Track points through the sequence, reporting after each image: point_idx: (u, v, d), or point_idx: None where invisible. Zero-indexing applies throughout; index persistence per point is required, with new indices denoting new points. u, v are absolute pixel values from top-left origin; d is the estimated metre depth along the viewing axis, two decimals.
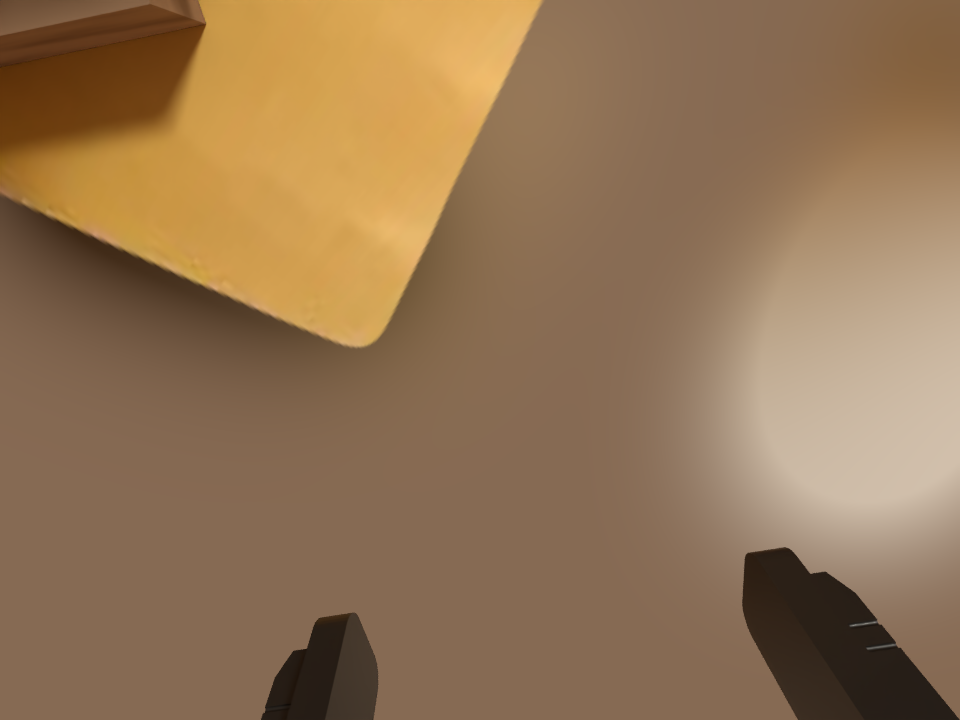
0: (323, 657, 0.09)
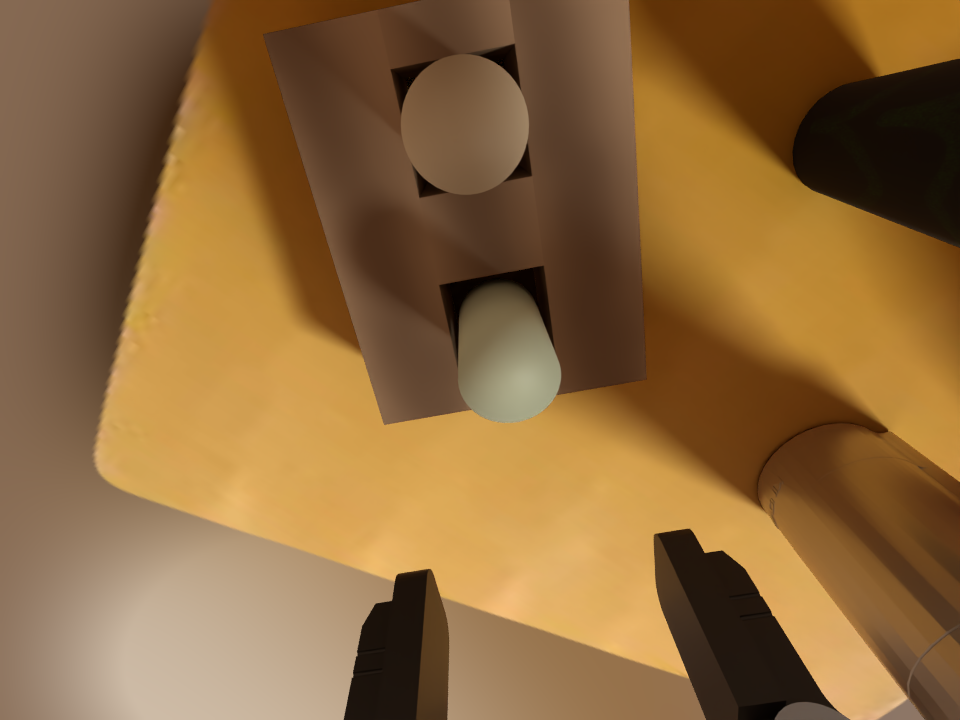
0: (409, 606, 0.10)
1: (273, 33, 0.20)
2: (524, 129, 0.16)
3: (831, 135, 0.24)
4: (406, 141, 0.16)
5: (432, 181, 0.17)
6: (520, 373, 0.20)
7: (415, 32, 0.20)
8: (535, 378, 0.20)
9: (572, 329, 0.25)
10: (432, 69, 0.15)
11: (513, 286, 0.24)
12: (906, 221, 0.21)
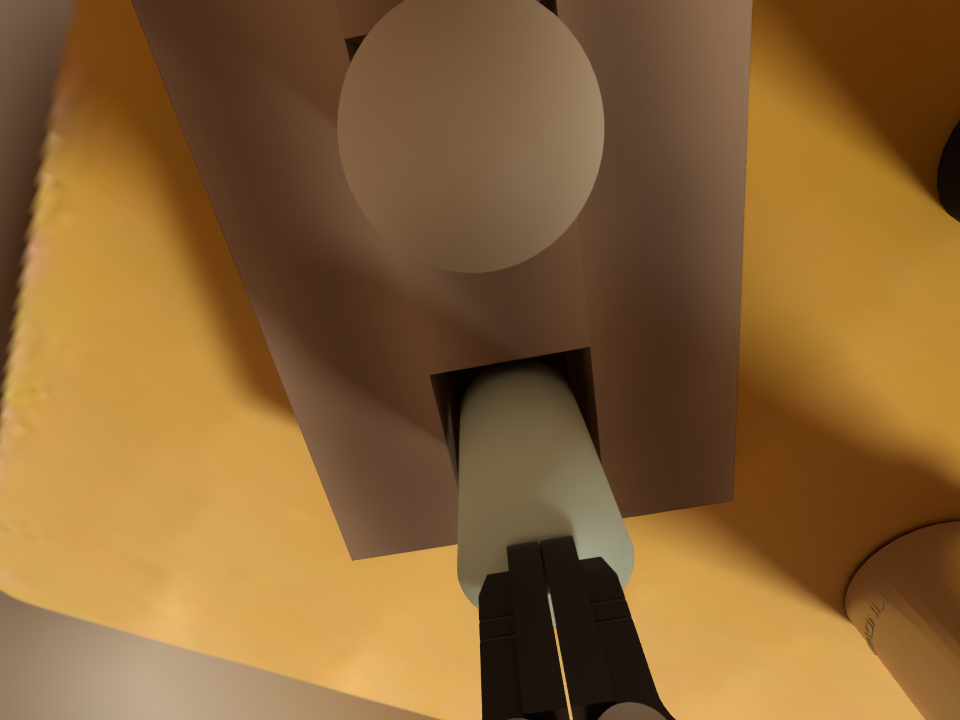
0: (528, 575, 0.10)
1: None
2: (594, 146, 0.08)
3: None
4: (351, 171, 0.08)
5: (406, 248, 0.08)
6: None
7: None
8: None
9: (629, 435, 0.17)
10: (401, 16, 0.07)
11: (542, 375, 0.16)
12: None
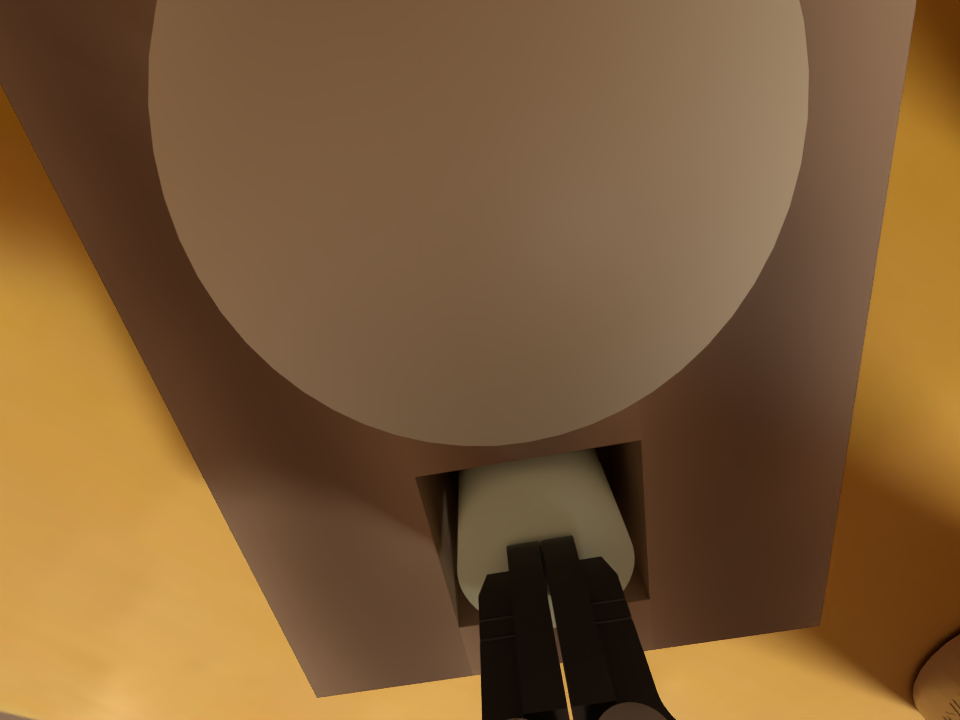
0: (528, 575, 0.10)
1: None
2: (777, 187, 0.03)
3: None
4: (199, 246, 0.03)
5: (338, 402, 0.04)
6: None
7: None
8: None
9: (688, 550, 0.13)
10: None
11: None
12: None
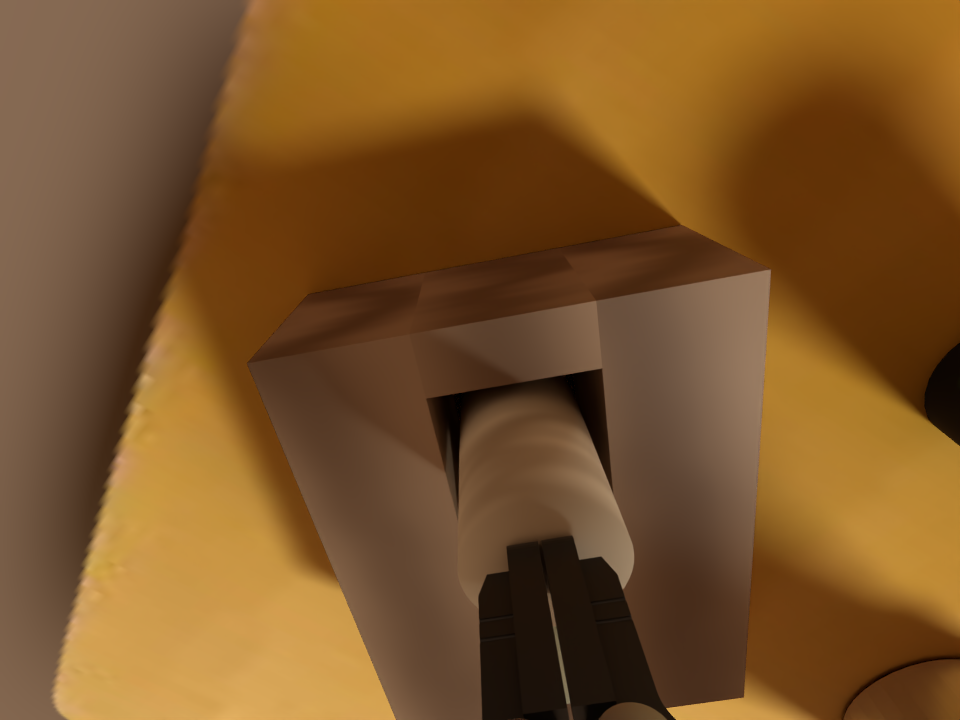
0: (527, 575, 0.10)
1: (262, 362, 0.14)
2: (627, 568, 0.12)
3: None
4: (464, 581, 0.12)
5: None
6: None
7: (463, 358, 0.14)
8: None
9: (653, 653, 0.20)
10: (505, 512, 0.11)
11: None
12: None
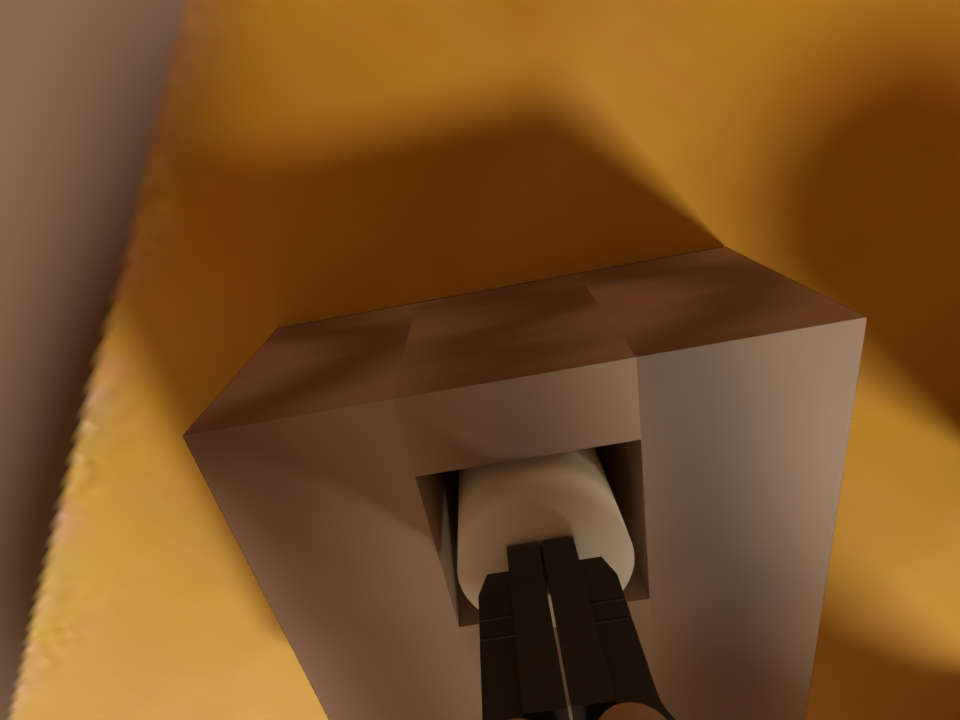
0: (528, 575, 0.10)
1: (201, 435, 0.11)
2: (627, 569, 0.12)
3: None
4: (464, 582, 0.12)
5: None
6: None
7: (462, 428, 0.11)
8: None
9: None
10: (505, 513, 0.11)
11: None
12: None
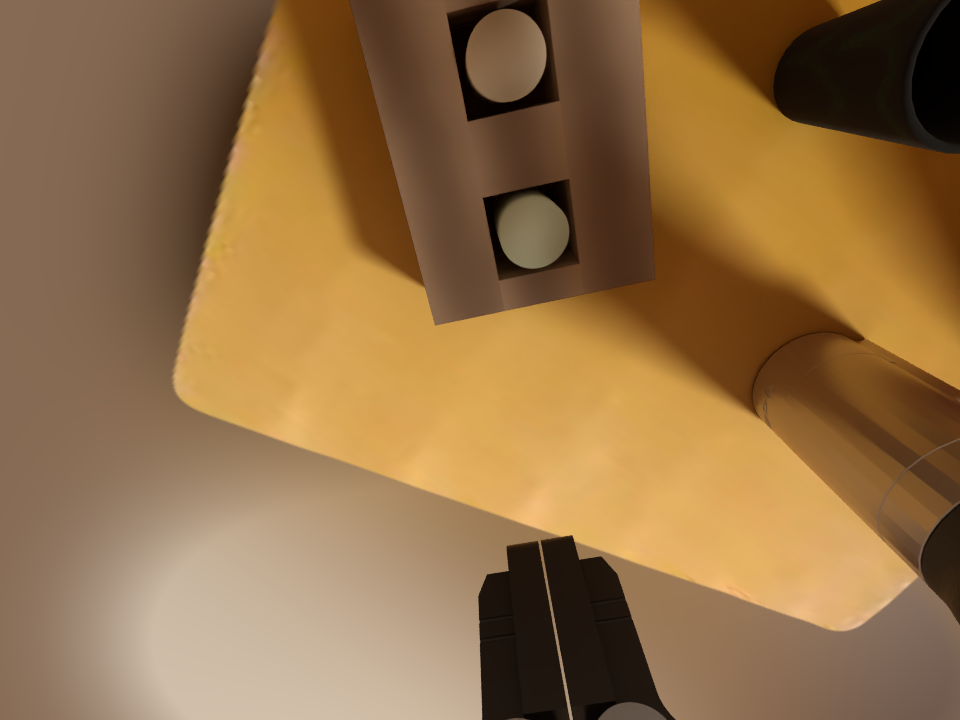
0: (528, 575, 0.10)
1: None
2: (543, 56, 0.26)
3: (803, 66, 0.30)
4: (469, 66, 0.26)
5: (485, 93, 0.26)
6: (541, 229, 0.29)
7: None
8: (552, 233, 0.30)
9: (593, 235, 0.30)
10: (486, 19, 0.25)
11: None
12: (863, 127, 0.27)
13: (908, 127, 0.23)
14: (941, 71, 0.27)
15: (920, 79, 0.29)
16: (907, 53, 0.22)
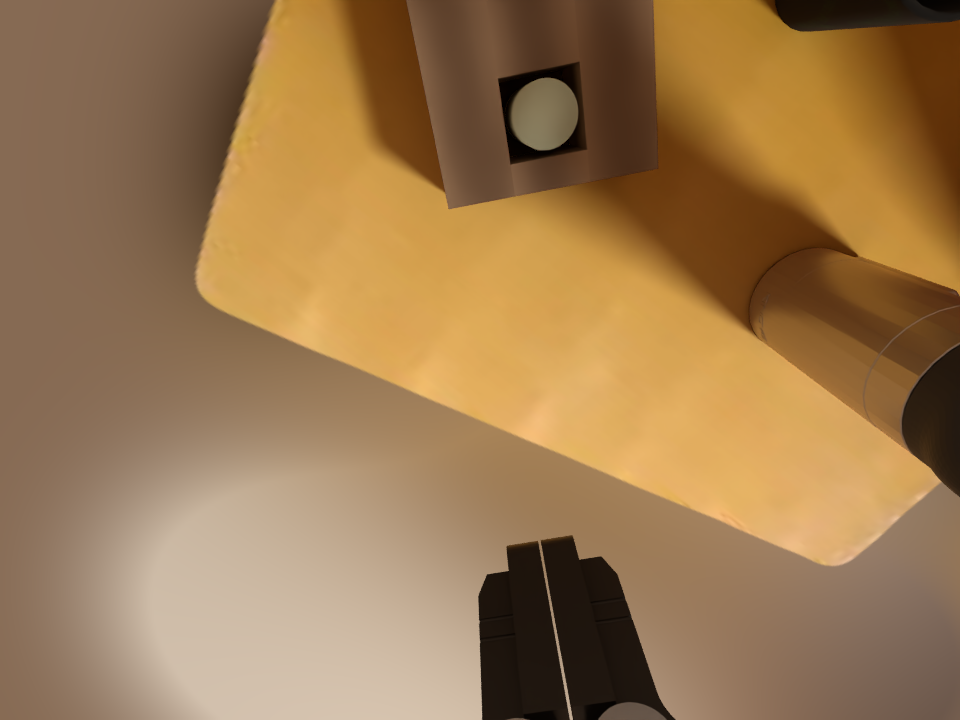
0: (528, 575, 0.10)
1: None
2: None
3: None
4: None
5: None
6: (552, 110, 0.31)
7: None
8: (561, 114, 0.31)
9: (600, 120, 0.32)
10: None
11: None
12: (856, 10, 0.28)
13: None
14: None
15: None
16: None
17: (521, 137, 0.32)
